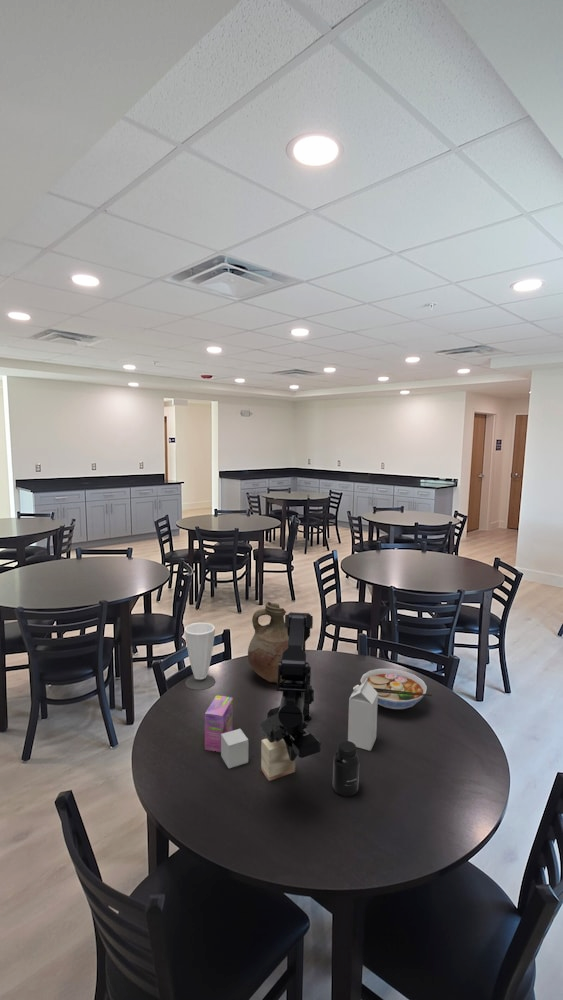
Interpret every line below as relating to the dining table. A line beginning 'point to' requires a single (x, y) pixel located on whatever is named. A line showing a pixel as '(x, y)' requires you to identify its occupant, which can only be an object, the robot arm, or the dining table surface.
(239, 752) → the grey block
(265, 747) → the birch block
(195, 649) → the cup
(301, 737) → the robot arm
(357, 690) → the milk carton
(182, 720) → the dining table surface
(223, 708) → the box
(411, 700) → the ramen bowl
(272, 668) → the jug
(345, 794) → the supplement bottle
